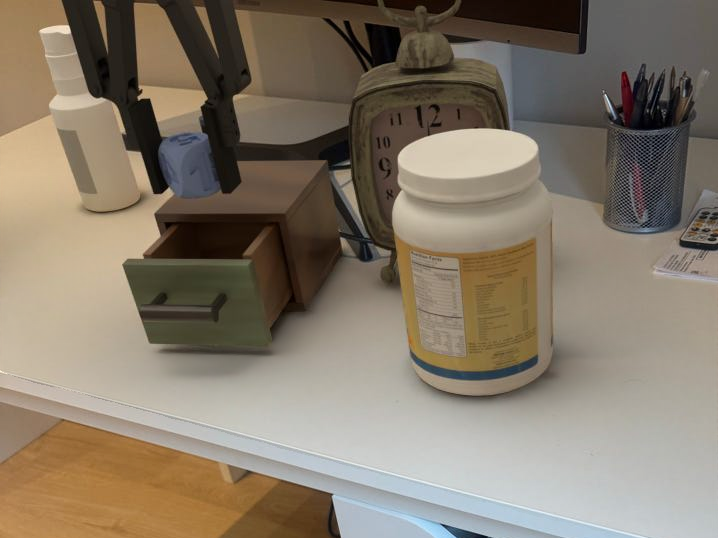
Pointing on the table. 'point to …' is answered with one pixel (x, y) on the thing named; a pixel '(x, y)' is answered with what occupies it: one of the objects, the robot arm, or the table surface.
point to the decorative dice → (189, 165)
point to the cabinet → (277, 216)
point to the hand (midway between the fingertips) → (197, 187)
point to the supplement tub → (475, 260)
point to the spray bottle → (87, 129)
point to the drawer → (212, 283)
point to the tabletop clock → (414, 115)
